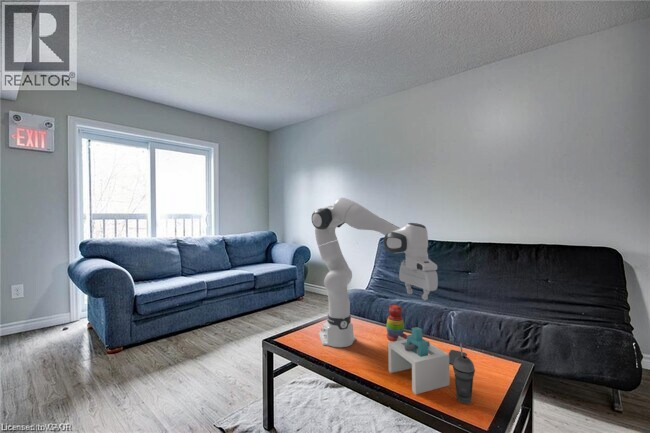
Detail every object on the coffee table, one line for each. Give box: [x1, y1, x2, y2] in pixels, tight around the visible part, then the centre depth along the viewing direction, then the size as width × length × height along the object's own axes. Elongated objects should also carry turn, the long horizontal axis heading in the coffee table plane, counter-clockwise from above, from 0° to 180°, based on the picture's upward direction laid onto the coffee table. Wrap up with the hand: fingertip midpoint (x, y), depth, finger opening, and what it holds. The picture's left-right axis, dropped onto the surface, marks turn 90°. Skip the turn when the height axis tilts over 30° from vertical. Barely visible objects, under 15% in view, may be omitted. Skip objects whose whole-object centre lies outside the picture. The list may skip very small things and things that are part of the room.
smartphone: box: [448, 349, 467, 366], centre depth 136 cm, size 7×1×15 cm
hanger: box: [406, 326, 429, 363], centre depth 120 cm, size 9×4×15 cm, turn 21°
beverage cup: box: [452, 342, 476, 405], centre depth 105 cm, size 7×7×20 cm
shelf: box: [387, 339, 450, 395], centre depth 120 cm, size 18×16×14 cm
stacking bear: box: [385, 304, 407, 342], centre depth 159 cm, size 11×10×18 cm
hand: (416, 296), depth 120 cm, fingers open, 8 cm apart
